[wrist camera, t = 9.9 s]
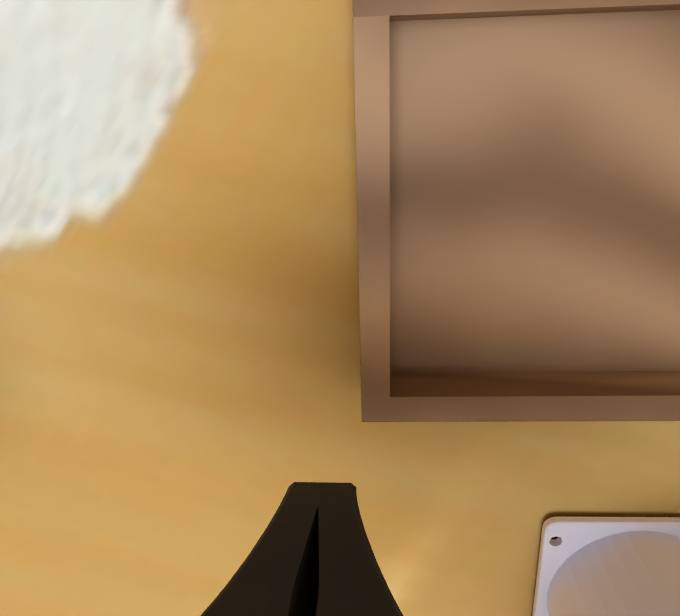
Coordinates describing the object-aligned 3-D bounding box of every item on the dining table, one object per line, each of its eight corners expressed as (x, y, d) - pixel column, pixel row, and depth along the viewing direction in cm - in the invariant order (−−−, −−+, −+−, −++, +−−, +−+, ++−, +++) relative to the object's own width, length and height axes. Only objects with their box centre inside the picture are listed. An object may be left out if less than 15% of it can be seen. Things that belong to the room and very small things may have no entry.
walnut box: (756, 386, 23) (799, 420, 20) (362, 388, 23) (361, 421, 21) (863, -34, 17) (935, -50, 15) (354, -12, 18) (352, -24, 16)
